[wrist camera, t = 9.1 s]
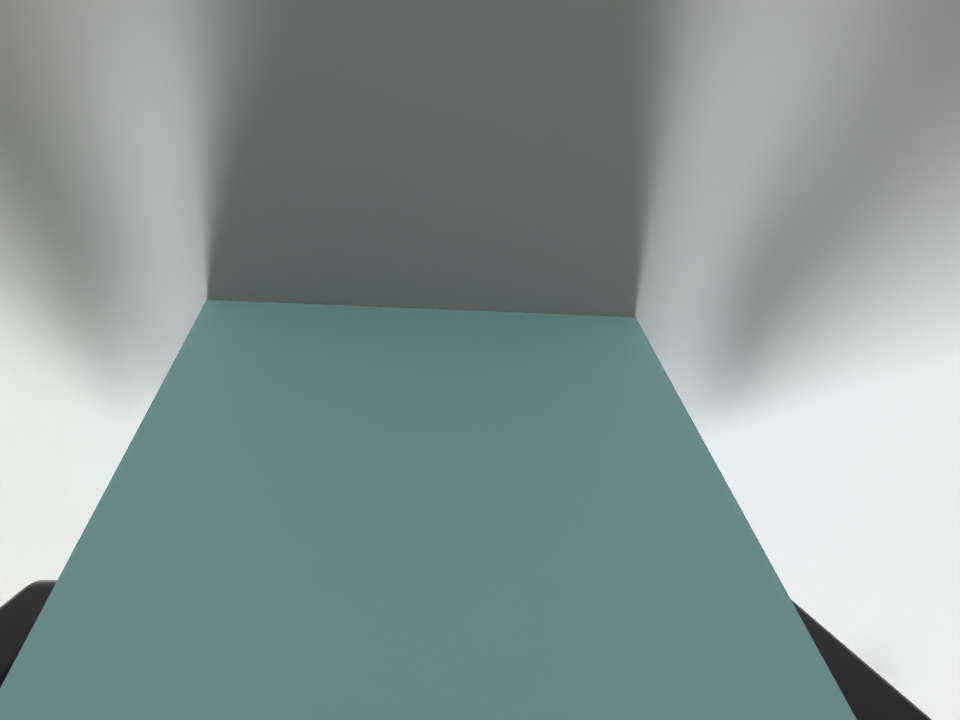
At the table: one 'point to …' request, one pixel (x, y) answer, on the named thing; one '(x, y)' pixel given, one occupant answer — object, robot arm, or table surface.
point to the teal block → (417, 537)
